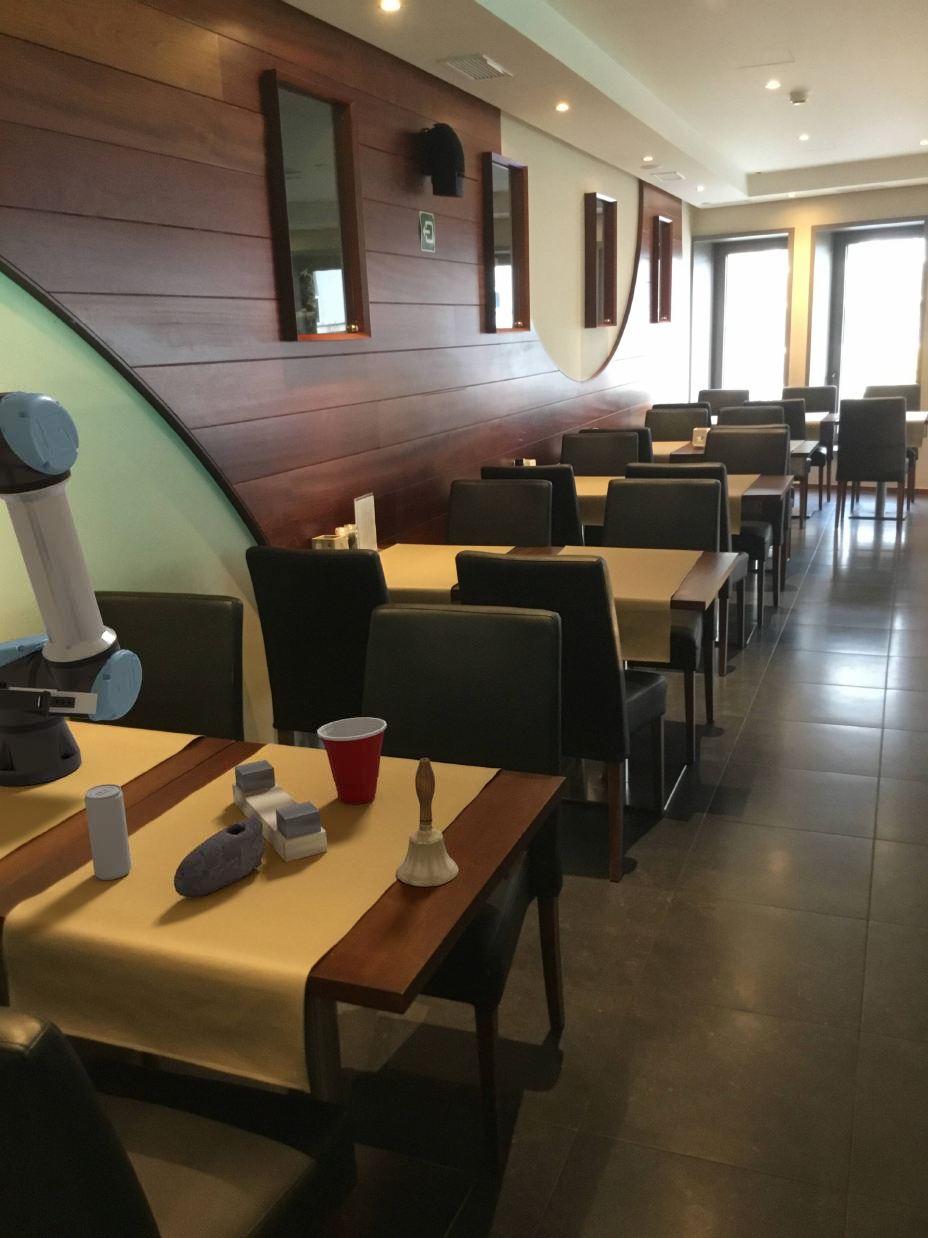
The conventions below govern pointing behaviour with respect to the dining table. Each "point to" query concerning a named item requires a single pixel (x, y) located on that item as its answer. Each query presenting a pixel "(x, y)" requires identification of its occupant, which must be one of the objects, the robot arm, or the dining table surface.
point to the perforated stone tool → (221, 859)
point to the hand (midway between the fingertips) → (74, 701)
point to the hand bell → (426, 840)
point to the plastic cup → (354, 756)
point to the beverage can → (108, 831)
